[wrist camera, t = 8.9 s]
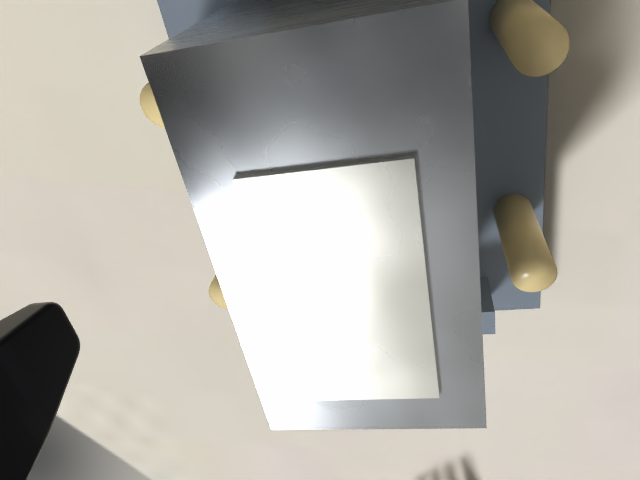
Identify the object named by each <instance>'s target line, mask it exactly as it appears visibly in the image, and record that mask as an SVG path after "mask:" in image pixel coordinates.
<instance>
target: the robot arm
mask: <svg viewBox="0 0 640 480" xmlns="http://www.w3.org/2000/svg"><path fill="white" fill-rule="evenodd" d="M79 351H80V341H79V338H78V336H77V334H76V332H75V330H74V328H73V326H72V325H71V323H70V321H69V319H68V317H67V316H66V314H65V312H64V310H63V309H62V307H61V306H60V305H58V304H57V303H54V302H45V303H34V304H30V305H28V306H26V307H24V308H23V309H21V310H19V311H17V312H15V313H13V314H12V315H10V316H8V317H6V318H4V319H2V320H1V321H0V480H27V479H28V476H29V474H30V472H31V470H32V468H33V466H34V464H35V462H36V460H37V458H38V456H39V454H40V451H41V449H42V447H43V445H44V443H45V441H46V439H47V436H48V434H49V432H50V429H51V427H52V424H53V422H54V419H55V416H56V414H57V411H58V408H59V406H60V403H61V400H62V398H63V395H64V392H65V389H66V387H67V384H68V381H69V379H70V376H71V373H72V371H73V368H74V365H75V363H76V360H77V357H78V355H79Z"/></svg>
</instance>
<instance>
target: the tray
mask: <svg viewBox="0 0 640 480" xmlns="http://www.w3.org/2000/svg"><path fill="white" fill-rule="evenodd" d="M233 1H235V0H157V2H158V5H159V8H160V11H161V15H162V18H163V21H164V24H165V27H166V30H167V34H168V37H169V39H170V38H172V37H174V36H175V35H177V34H179V33H180V32H182V31H184V30H186V29H187V28H189V27H191V26H192V25H194V24H196V23H198V22H199V21H201V20H203V19H204V18H206V17H208V16H209V15H211V14H213V13H215V12H216V11H218V10H220V9H221V8H223V7H225V6H227V5H228V4H230V3H232V2H233ZM550 7H551V0H468V11H469V35H470V58H471V81H472V104H473V127H474V150H475V174H476V197H477V220H478V243H479V266H480V289H481V313H482V334H495V310H514V309H534V308H540V293H541V291H542V290H544V289H546V288H548V287H549V286H551V285H552V284H553V283H554V281H555V280H556V277H557V268H556V265H555V263H554V260H553V258H552V255H551V253H550V250H549V248H548V245H547V243H546V240H545V238H544V235H543V207H544V179H545V150H546V121H547V93H548V74H549V73H551V72H552V71H554V70H555V69H557V68H558V67H559V66H560V65H561V64H562V63H563V61H564V60H565V58H566V56H567V54H568V51H569V46H570V39H569V35H568V32H567V30H566V29H565V27H564V26H563V25H562V24H561V23H559V22H558V21H557V20H556V19H555V18H553V17H552V16H551V15H550ZM140 105H141V108H142V110H143V112H144V114H145V115H146V117H147V118H148V119H149V120H150V121H151V122H153V123H154V124H156V125H158V126H161V127H165V126H164V124H163V121H162V118H161V115H160V112H159V109H158V106H157V104H156V101H155V98H154V95H153V92H152V89H151V87H150V84H149V83H148V84H147V85H145V86H144V88H143V89H142V91H141V94H140ZM209 295H210V297H211V299H212V300H213V302H214V303H216V304H217V305H218V306H220V307H222V308H225V309H229V308H228V305H227V303H226V300H225V297H224V294H223V291H222V288H221V286H220V283H219V280H218V277H217V274H216V275H215V277H214V279H213V281H212V283H211V285H210V287H209Z"/></svg>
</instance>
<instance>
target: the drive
mask: <svg viewBox="0 0 640 480" xmlns="http://www.w3.org/2000/svg"><path fill="white" fill-rule="evenodd" d="M140 58H141V61H142V64H143V67H144V70H145V72H146V75H147V78H148V81H149V84H150V87H151V89H152V92H153V95H154V98H155V101H156V104H157V106H158V109H159V112H160V115H161V118H162V121H163V124H164V126H165V129H166V132H167V135H168V138H169V141H170V143H171V146H172V149H173V152H174V155H175V158H176V160H177V163H178V166H179V169H180V172H181V175H182V178H183V180H184V183H185V186H186V189H187V192H188V195H189V197H190V200H191V203H192V206H193V209H194V212H195V214H196V217H197V220H198V223H199V226H200V229H201V232H202V234H203V237H204V240H205V243H206V246H207V249H208V251H209V254H210V257H211V260H212V263H213V266H214V268H215V271H216V274H217V277H218V280H219V283H220V286H221V288H222V291H223V294H224V297H225V300H226V303H227V305H228V308H229V311H230V314H231V317H232V320H233V322H234V325H235V328H236V331H237V334H238V337H239V340H240V342H241V345H242V348H243V351H244V354H245V357H246V359H247V362H248V365H249V368H250V371H251V374H252V376H253V379H254V382H255V385H256V388H257V391H258V394H259V396H260V399H261V402H262V405H263V408H264V411H265V413H266V416H267V419H268V422H269V425H270V428H271V430H324V429H437V428H486V405H485V382H484V359H483V336H482V313H481V289H480V266H479V243H478V220H477V197H476V174H475V150H474V127H473V104H472V81H471V58H470V35H469V11H468V0H235V1H233V2H232V3H230V4H228V5H227V6H225V7H223V8H221V9H220V10H218V11H216V12H215V13H213V14H211V15H209V16H208V17H206V18H204V19H203V20H201V21H199V22H198V23H196V24H194V25H192V26H191V27H189V28H187V29H186V30H184V31H182V32H180V33H179V34H177V35H175V36H174V37H172V38H170V39H168V40H167V41H165V42H163V43H162V44H160V45H158V46H157V47H155V48H153V49H151V50H150V51H148V52H146V53H145V54H143V55H141V56H140Z"/></svg>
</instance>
